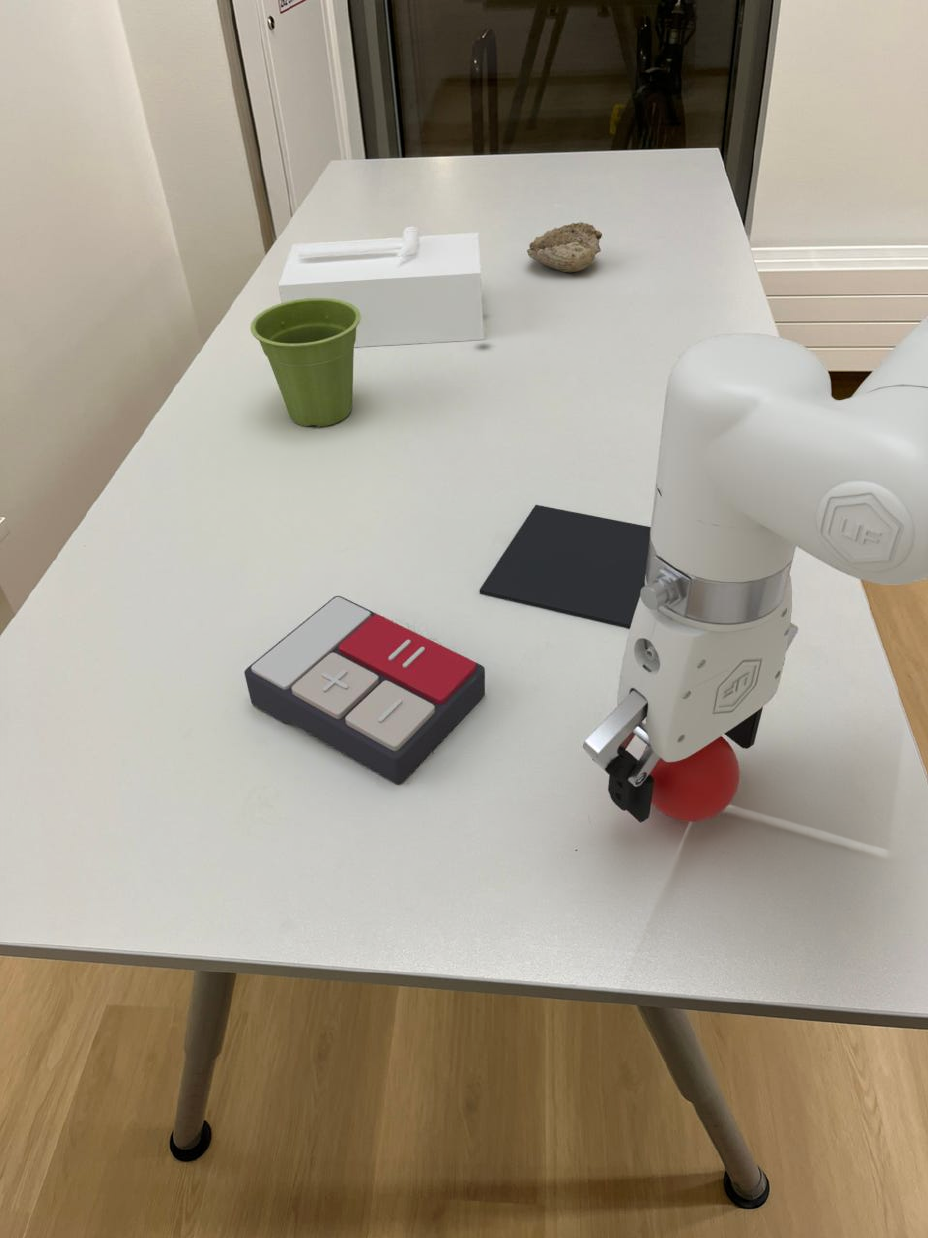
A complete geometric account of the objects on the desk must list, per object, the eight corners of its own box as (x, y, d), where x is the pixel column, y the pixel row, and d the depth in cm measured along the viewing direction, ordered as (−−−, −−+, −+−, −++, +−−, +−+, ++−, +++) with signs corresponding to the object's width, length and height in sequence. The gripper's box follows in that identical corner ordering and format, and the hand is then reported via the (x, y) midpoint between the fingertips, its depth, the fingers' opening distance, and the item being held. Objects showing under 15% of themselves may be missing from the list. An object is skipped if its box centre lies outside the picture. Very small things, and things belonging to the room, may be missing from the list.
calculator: (396, 753, 65) (239, 664, 71) (400, 792, 68) (248, 703, 74) (487, 659, 71) (336, 586, 78) (487, 698, 74) (341, 624, 81)
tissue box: (483, 339, 122) (480, 253, 115) (290, 351, 123) (274, 266, 116) (480, 295, 133) (477, 214, 126) (303, 306, 134) (289, 226, 127)
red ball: (741, 781, 66) (754, 717, 62) (721, 853, 62) (734, 790, 57) (650, 756, 68) (657, 693, 64) (625, 824, 64) (630, 761, 60)
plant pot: (249, 427, 108) (227, 333, 101) (308, 382, 116) (292, 291, 108) (335, 448, 103) (319, 350, 96) (391, 399, 111) (381, 306, 104)
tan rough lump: (540, 274, 145) (510, 267, 137) (545, 224, 143) (515, 214, 135) (609, 277, 140) (582, 270, 132) (614, 225, 138) (588, 215, 130)
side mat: (743, 548, 86) (744, 544, 86) (708, 646, 76) (708, 643, 76) (535, 507, 93) (535, 504, 92) (479, 593, 83) (479, 589, 83)
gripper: (651, 674, 46) (625, 877, 57) (875, 538, 53) (813, 742, 64) (550, 596, 50) (544, 798, 62) (768, 481, 58) (728, 680, 69)
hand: (681, 769), depth 63 cm, fingers open, 9 cm apart
